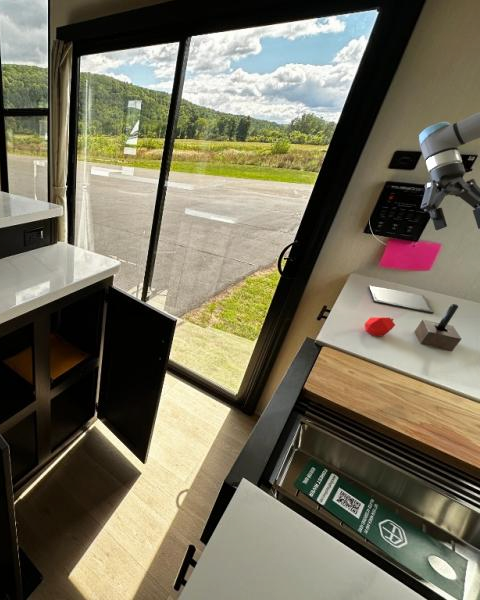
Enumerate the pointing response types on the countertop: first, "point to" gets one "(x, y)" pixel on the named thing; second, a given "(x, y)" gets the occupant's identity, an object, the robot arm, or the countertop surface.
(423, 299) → the tablet
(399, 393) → the countertop surface
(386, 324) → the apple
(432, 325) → the block
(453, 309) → the stylus
